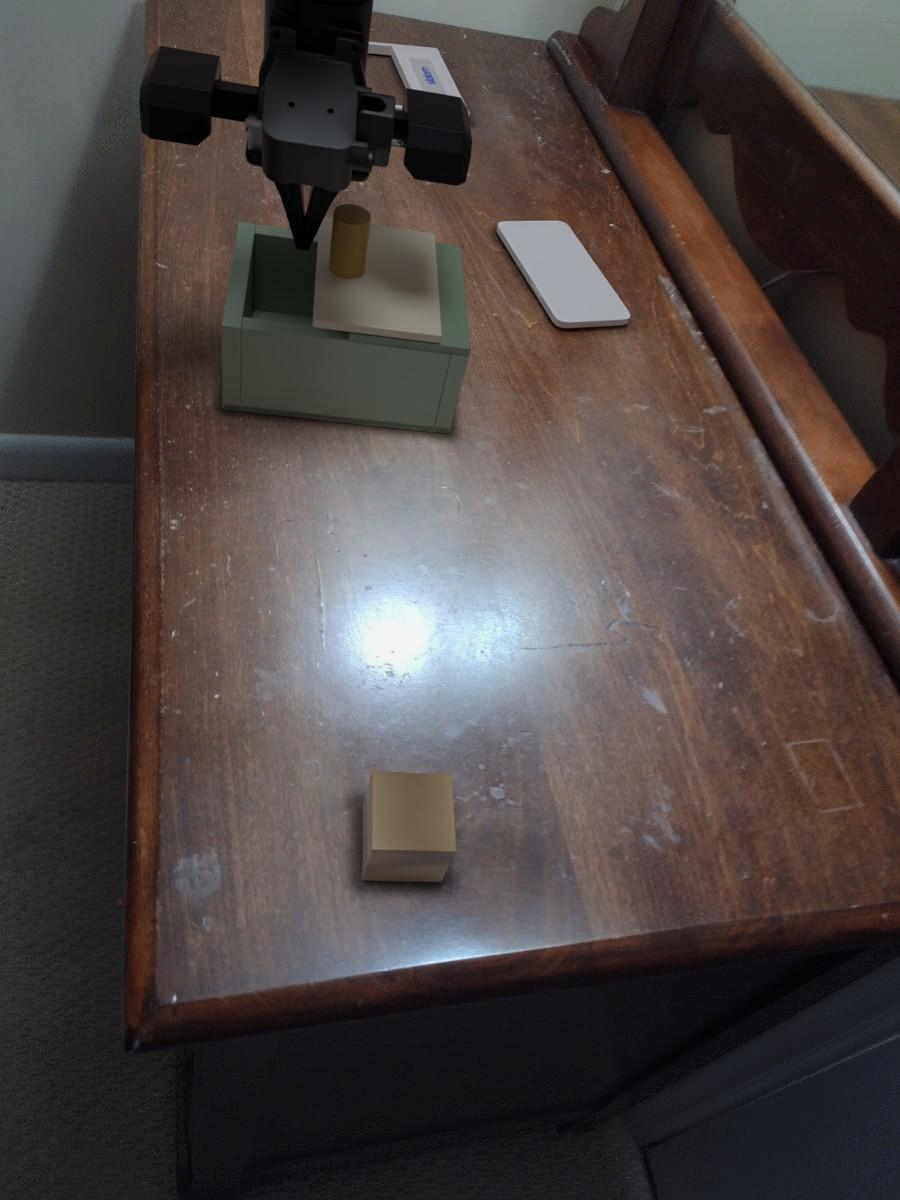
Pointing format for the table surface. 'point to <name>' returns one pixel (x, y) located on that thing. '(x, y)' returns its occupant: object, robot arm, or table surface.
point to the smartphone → (562, 274)
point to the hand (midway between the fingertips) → (302, 246)
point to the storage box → (333, 345)
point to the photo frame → (418, 68)
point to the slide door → (376, 278)
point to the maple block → (408, 827)
